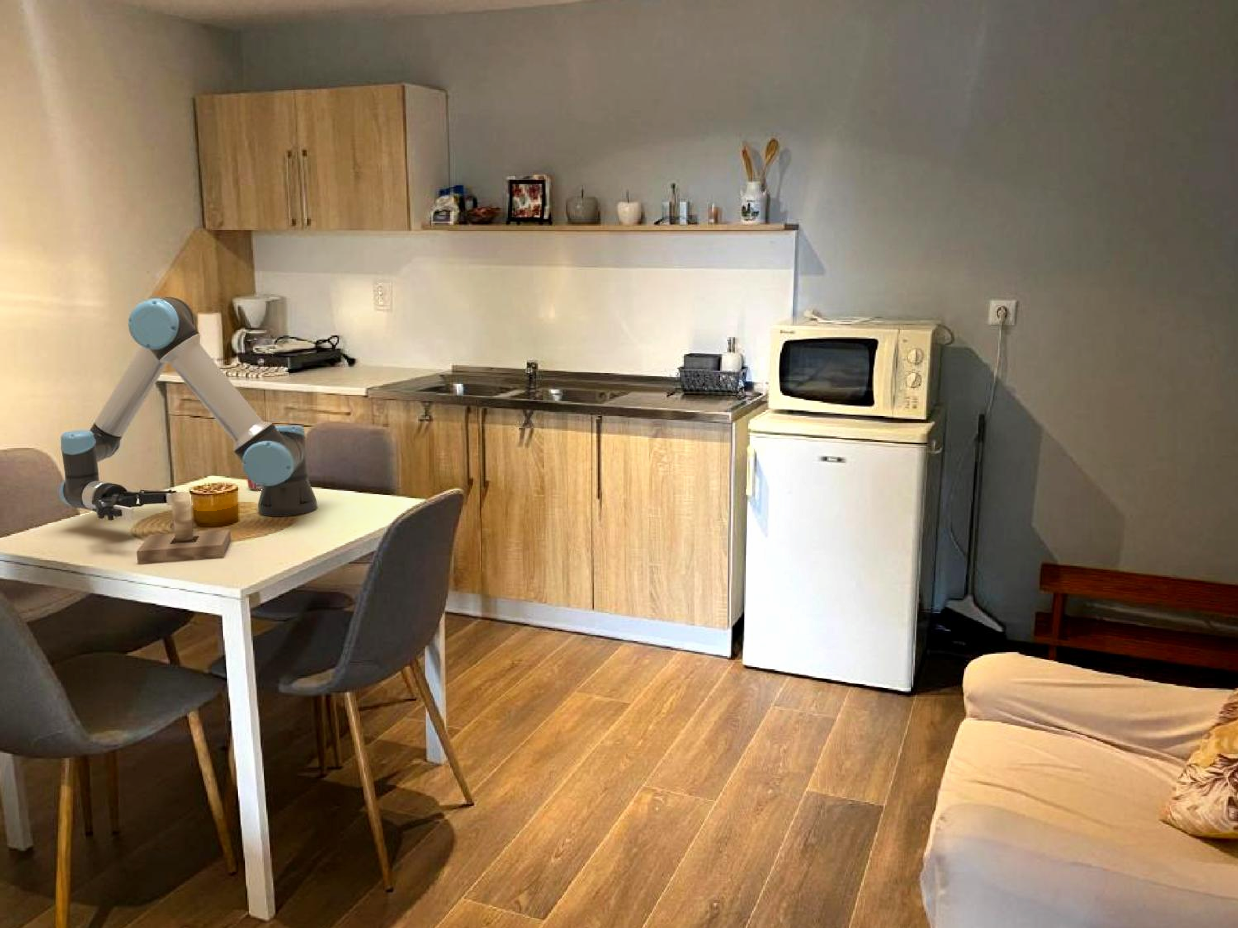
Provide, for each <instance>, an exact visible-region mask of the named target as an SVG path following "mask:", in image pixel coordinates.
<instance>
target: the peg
mask: <svg viewBox="0 0 1238 928" xmlns="http://www.w3.org/2000/svg"><path fill="white" fill-rule="evenodd" d="M170 496H171V505H172V506H171V505H170V506H171V513H172V521H173V522H172V523H173V530H174V531H173V533H174V534H175V543H176V544H178V543H191V542H194V535H193V532H194V528H193V527H194V526H193V518H192V517H193V516H192V507H191V498H190V492H188V491H178V492H176V493H172V494H170Z"/></svg>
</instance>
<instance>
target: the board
mask: <svg viewBox="0 0 1238 928" xmlns="http://www.w3.org/2000/svg"><path fill="white" fill-rule="evenodd" d="M193 535H194V542H191V543H178V544H176V543H175V534H174V532H173V533H163V534H162V533H160V534H159V533H158V534H149V535H148V536H147V537H146V539H145V540H144V541H143V542H142V543H141V545H140V546H139V548H138V549H137V550H136V558H137V565H142V564H143V565H144V564H158V563H159V564H160V563H169V562H170V563H171V562H183V561H197V560H211V559H221V558H222V559H223V558H224V556H225V555H226V553H227V550H228V548H229V546H230V544H231V542H232V540H231V539H232V538H231V529H217V530H216V529H215V530H204V531H203V530H202V531H193Z"/></svg>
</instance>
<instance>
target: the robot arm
mask: <svg viewBox="0 0 1238 928" xmlns="http://www.w3.org/2000/svg"><path fill="white" fill-rule="evenodd" d="M127 324H128V331H129V334H130V336H131V337H132V339H133V340H134V342H136V343H137V344H138V345H140V347H139V348H138V349H137V352H136V353H135V355H134V357H133V359H132V360H131V361H130V364H129V365H128V366H127V369H126V370H125V371H124V373H123V375H122V376H121V377H120V379H119V381H118V383H117V385H116V386H115V387H114V389H113V391H112V392H111V394H110V396H109V398H108V400H107V401H106V403H105V404H104V405H103V407H102V409H101V411H100V413H98V416H97V417H96V419H95V421H94V423H93V424H92V425H91V427H90V428H89V430H88V429H80V430H79V429H78V430H70V431H66V432H63V433H62V434H61V436H60V450H61V455H62V462H63V463H62V464H63V470H64V480H63V481H62V482H61V483H60V486H59V488H58V496H59V499H60V500H61V501H62V502H63V503H64V504H66V505H67V506H71V507H73V508H76V509H84V510H88V511H91V512H95V513H96V515H97V517H98V519H104V518H105V516H106V517H107V520H108V521H113V520H115V519H114V518H118V519H123V520H128V521H134V520H135V515H134V508H135V507H136V508H137V507H143V506H144V505H159V504H166V505H167V506H171V507H172V505H171V496H170V494H172V493H176V492H177V490H172V489H169V490H147V489H140V490H139V491H129V490H127V488H125V487H124V486H123V485H122V484H118V483H113V482H109V481H108V482H107V481H102V480H100V475H99V464H98V463H99V462H101V461H103V460H106V459H108V458H111V457H112V456H114V455H115V453H117V452H118V451H119V449H120V448H121V440H122V438H123V437H124V435H125V433H126V431H127V430H128V428H129V426H130V425H131V423H132V422H133V420H134V419H135V417H136V415H137V414H138V413H139V411H140V408H141V407H142V405H143V404H144V402H145V401H146V399H147V397H148V396H149V395H150V392H151V391H152V390H153V388H154V386H156V385H155V384H156V383H157V382H158V380H159V378H160V376H161V375H162V373H163V372H164V370H165V369H166V367H167V365H170V366H171V367H172V368H173V369H174V371H175V372H176V374H177V375H179V377H180V378H181V380H182V381H183V382H184V383H185V384H186V385H187V387H188V388H189V389H190V390H191V391H192V392H193V394H194V395H195V397H197V399H198V400H199V401H200V403H202V405H203V406H204V407H205V408H206V409H207V411H208V412H209V413H210V414H211V416H212V417H213V418H214V419H215V421H216V422H217V423H218V424H219V425H220V427H221V428H222V429H223V430H224V431H225V433H226V434H227V435H228V436H229V438H230V439H231V440H232V441H233V447H232V451H233V452H234V453H235V455H236V456H237V457H238V458H239V460H241V463H242V464H241V465H242V469H243V472H244V474H245V475H246V478H247V477H248V478H249V479H250V480H252V481H253V482H255V483H257V484H259V485H263V486H262V490H260V495H259V499H258V504H257V510H258V511H257V512H258V514H260V515H262V516H265V517H266V516H267V517H290V516H296V515H297V516H298V515H304V514H308V513H311V512H313V511H315V510H316V509H317V508H318V501H317V497H316V496H315V493H314V490H313V488H312V486H311V483H310V481H309V474H308V459H307V458H308V457H307V447H306V437H307V435H306V433H305V429H304V427H303V426H301V425H274V424H273V422H272V421H271V422H269V421H264V420H262V418H260V416H259V414H257V412H256V411H255V409H253V407H252V406H251V405H250V404H249V402H248V401H247V400H246V399H245V397H244V396H243V395H242V394H241V393H240V391H239V390H238V389H237V388H236V387H235V385H234V384H233V383H232V382H231V380H230V379H229V378H228V377H227V375H226V374H225V373H224V372H223V371H222V370H221V368H220V367H219V366H218V364H217V363H216V362H215V360H213V358H212V357H211V356H210V354H209V353H208V352H207V351H206V350H205V349H204V347H203V346H202V345H201V343H200V342H201V334H200V332H199V331H198V330H197V329H196V317H195V313H194V310H193V309H192V308H191V306H190V305H189V304H187V303H186V302H185V301H184V300H182V299H179V298H176V297H171V296H168V297H167V296H166V297H161V298H160V297H159V298H158V297H155V298H148V299H145V300H144V301H142V302H140V303H138V304H137V305H136V306H134V308H133V309H132V310H131V311H130V314H129V316H128V323H127Z"/></svg>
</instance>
